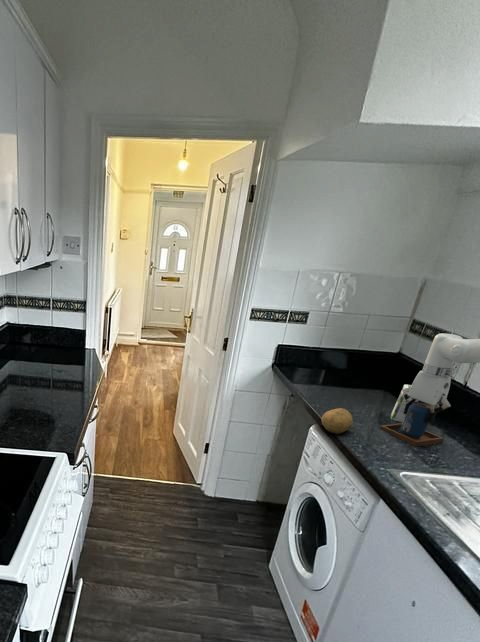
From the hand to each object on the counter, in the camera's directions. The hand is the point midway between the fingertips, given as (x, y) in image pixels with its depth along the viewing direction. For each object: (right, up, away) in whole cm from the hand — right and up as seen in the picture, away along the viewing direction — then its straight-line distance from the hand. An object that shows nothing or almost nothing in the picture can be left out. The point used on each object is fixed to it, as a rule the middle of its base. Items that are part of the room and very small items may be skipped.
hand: (417, 417), depth 148 cm
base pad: (0, -7, +3) cm, 8 cm away
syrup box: (+5, -2, +17) cm, 18 cm away
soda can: (0, -7, +3) cm, 7 cm away
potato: (-28, -5, +4) cm, 29 cm away
